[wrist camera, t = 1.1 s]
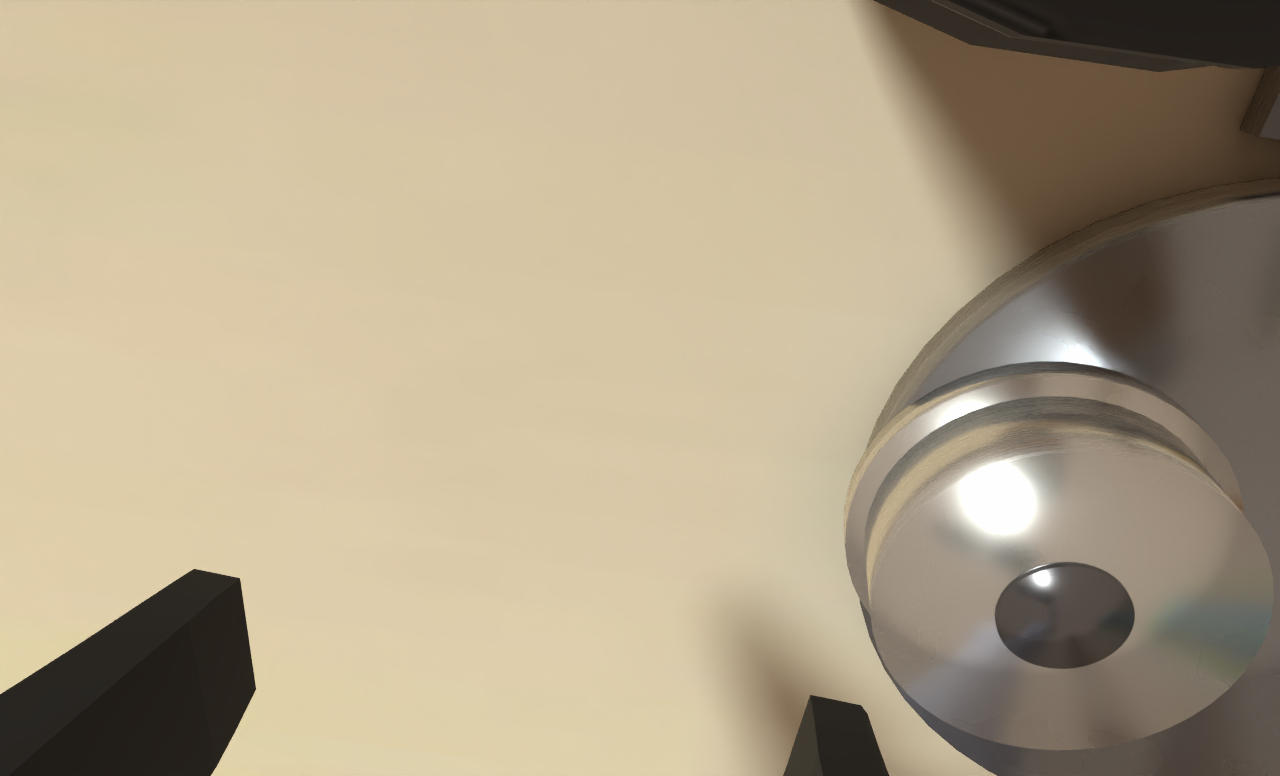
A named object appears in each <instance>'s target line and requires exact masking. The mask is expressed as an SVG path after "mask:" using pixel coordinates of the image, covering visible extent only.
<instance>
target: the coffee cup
mask: <svg viewBox="0 0 1280 776" xmlns="http://www.w3.org/2000/svg"><path fill="white" fill-rule="evenodd" d="M874 1H877V2H879V3H881V4H883V5H885V6H888V7H890V8H892V9H894V10H896V11H898V12H901V13H903V14H905V15H907V16H909V17H911V18H914V19H916V20H918V21H920V22H922V23H924V24H927V25H929V26H931V27H933V28H935V29H937V30H940V31H942V32H944V33H946V34H948V35H951V36H953V37H955V38H957V39H959V40H961V41H964V42H966V43H968V44H970V45H976V46H983V47H990V48H997V49H1004V50H1011V51H1018V52H1024V53H1031V54H1038V55H1045V56H1052V57H1059V58H1066V59H1073V60H1080V61H1087V62H1094V63H1101V64H1108V65H1115V66H1121V67H1128V68H1135V69H1142V70H1149V71H1156V72H1162V71H1171V70H1180V69H1188V68H1197V67H1206V66H1217V67H1224V68H1265V67H1274V66H1280V0H874Z"/></svg>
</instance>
